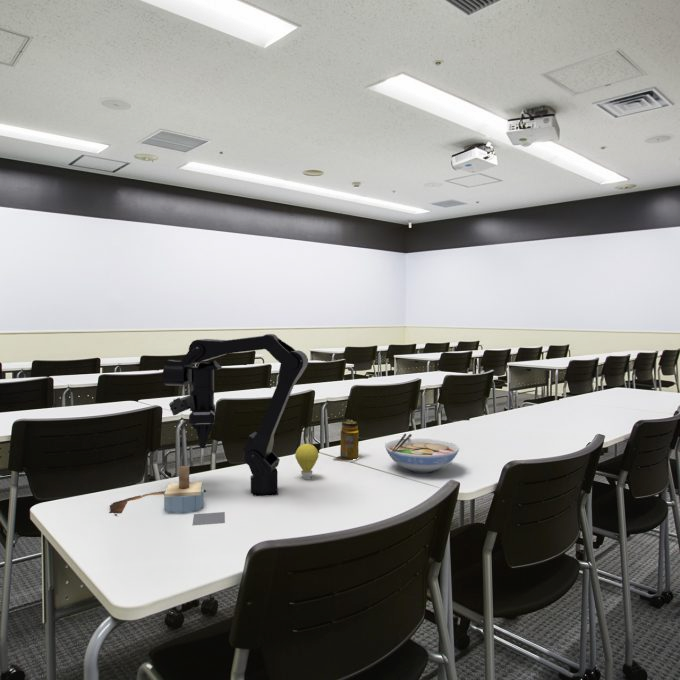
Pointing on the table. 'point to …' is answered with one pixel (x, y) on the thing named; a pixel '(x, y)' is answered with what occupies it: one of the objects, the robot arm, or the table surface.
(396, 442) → the ramen bowl
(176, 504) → the bowl
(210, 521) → the mat
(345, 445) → the condiment
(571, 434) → the table surface
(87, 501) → the table surface
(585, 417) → the table surface
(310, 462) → the light bulb
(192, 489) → the lid
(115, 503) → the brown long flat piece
